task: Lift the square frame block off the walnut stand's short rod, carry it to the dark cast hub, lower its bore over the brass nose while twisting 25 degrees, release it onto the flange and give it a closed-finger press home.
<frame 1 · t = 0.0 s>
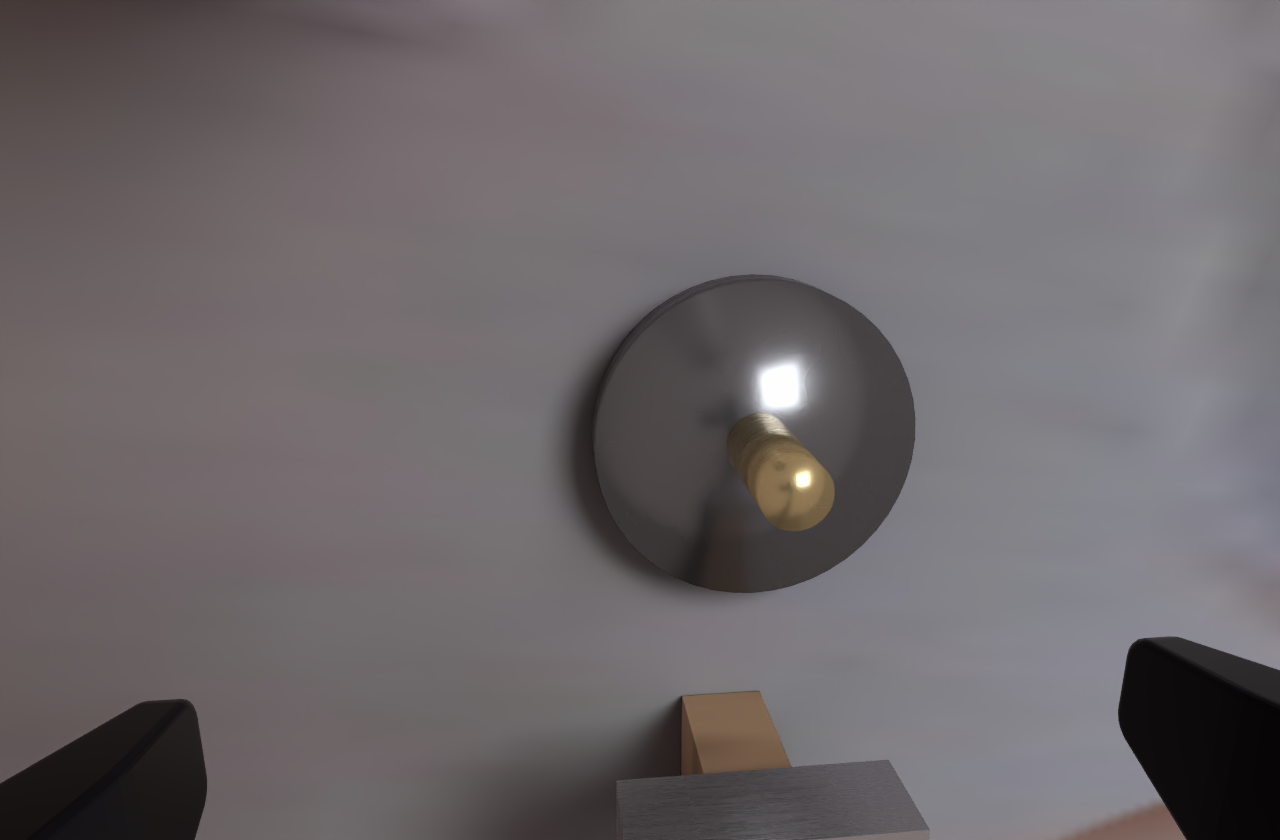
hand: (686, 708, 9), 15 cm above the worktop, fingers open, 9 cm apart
hub: (747, 430, 24), on the worktop
stand: (718, 778, 27), on the worktop
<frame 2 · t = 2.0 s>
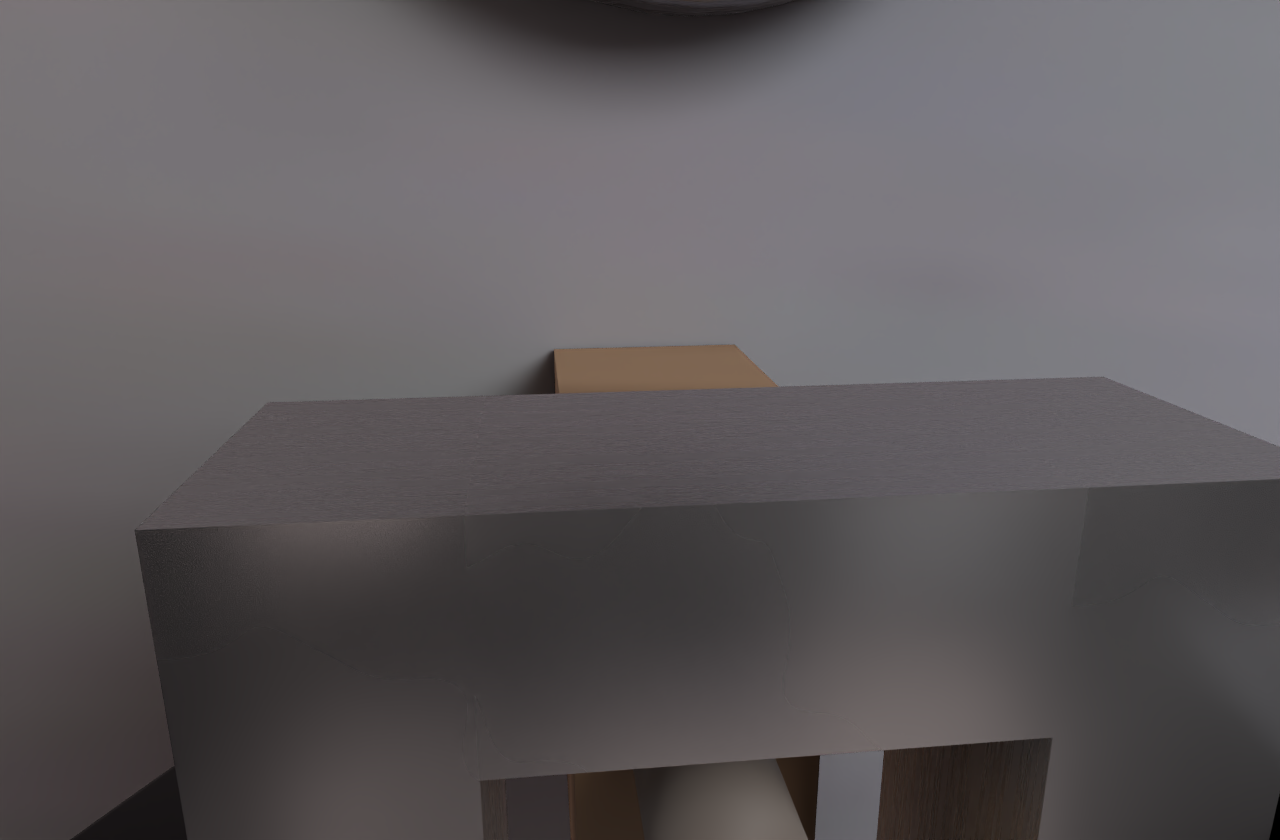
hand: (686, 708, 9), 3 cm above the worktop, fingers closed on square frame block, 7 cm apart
square frame block: (699, 751, 8), point 4 cm above the worktop, touching gripper, stand
stand: (645, 559, 12), on the worktop
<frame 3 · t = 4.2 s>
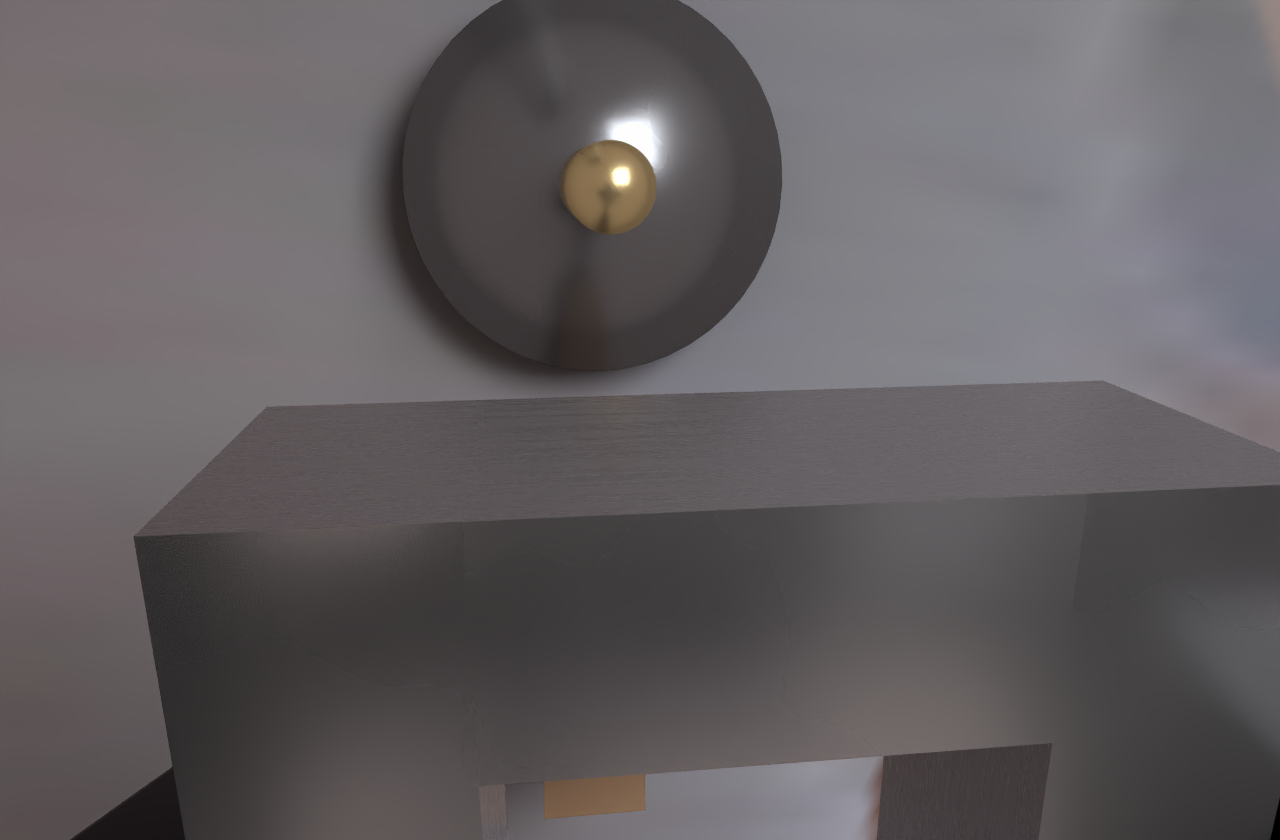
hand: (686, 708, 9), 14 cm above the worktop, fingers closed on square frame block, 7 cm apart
square frame block: (698, 755, 8), point 14 cm above the worktop, touching gripper
hub: (592, 184, 21), on the worktop
stand: (581, 613, 23), on the worktop
when the fingers open (2 cm above the worktop, at t = 6.7 s): square frame block drops 2 cm, resting on hub.
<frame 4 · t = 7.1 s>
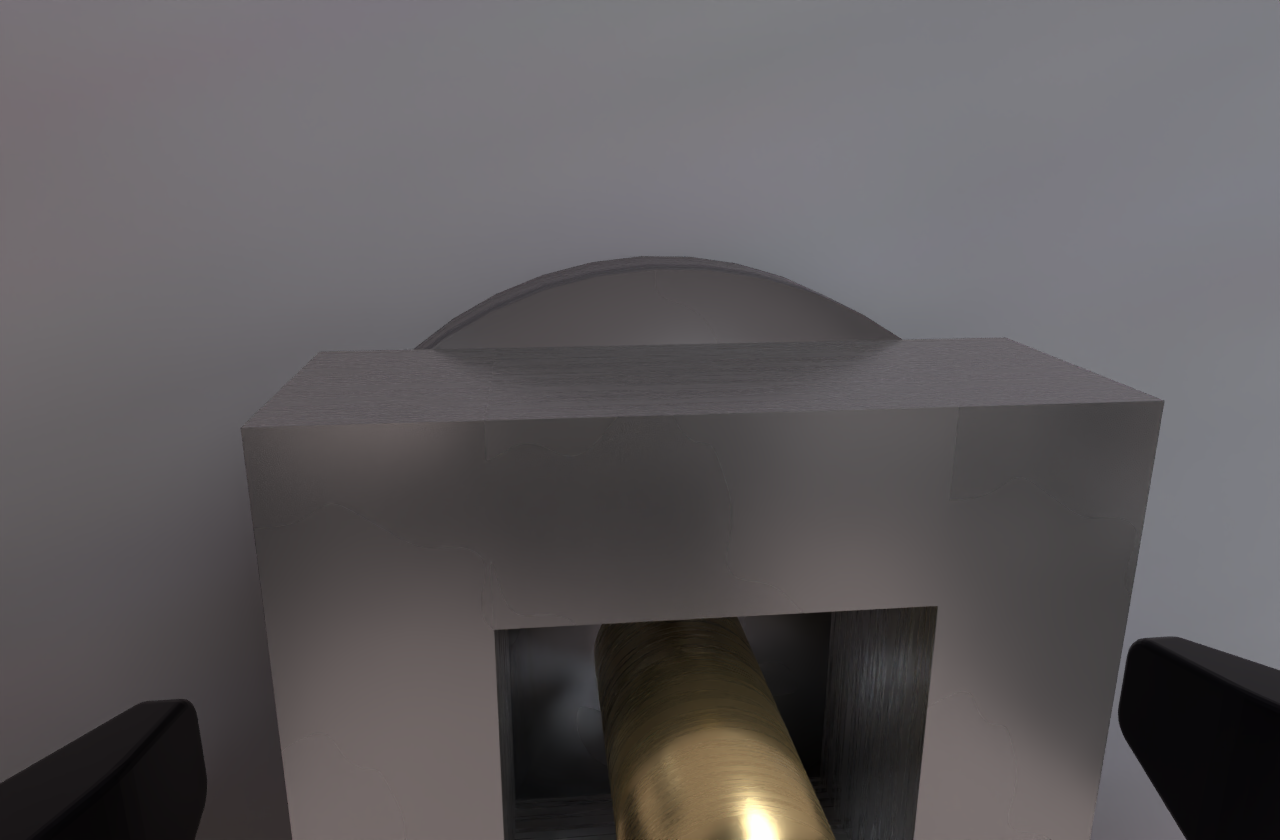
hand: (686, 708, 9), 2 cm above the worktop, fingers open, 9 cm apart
square frame block: (672, 651, 10), point 1 cm above the worktop, touching hub
hub: (655, 598, 11), on the worktop
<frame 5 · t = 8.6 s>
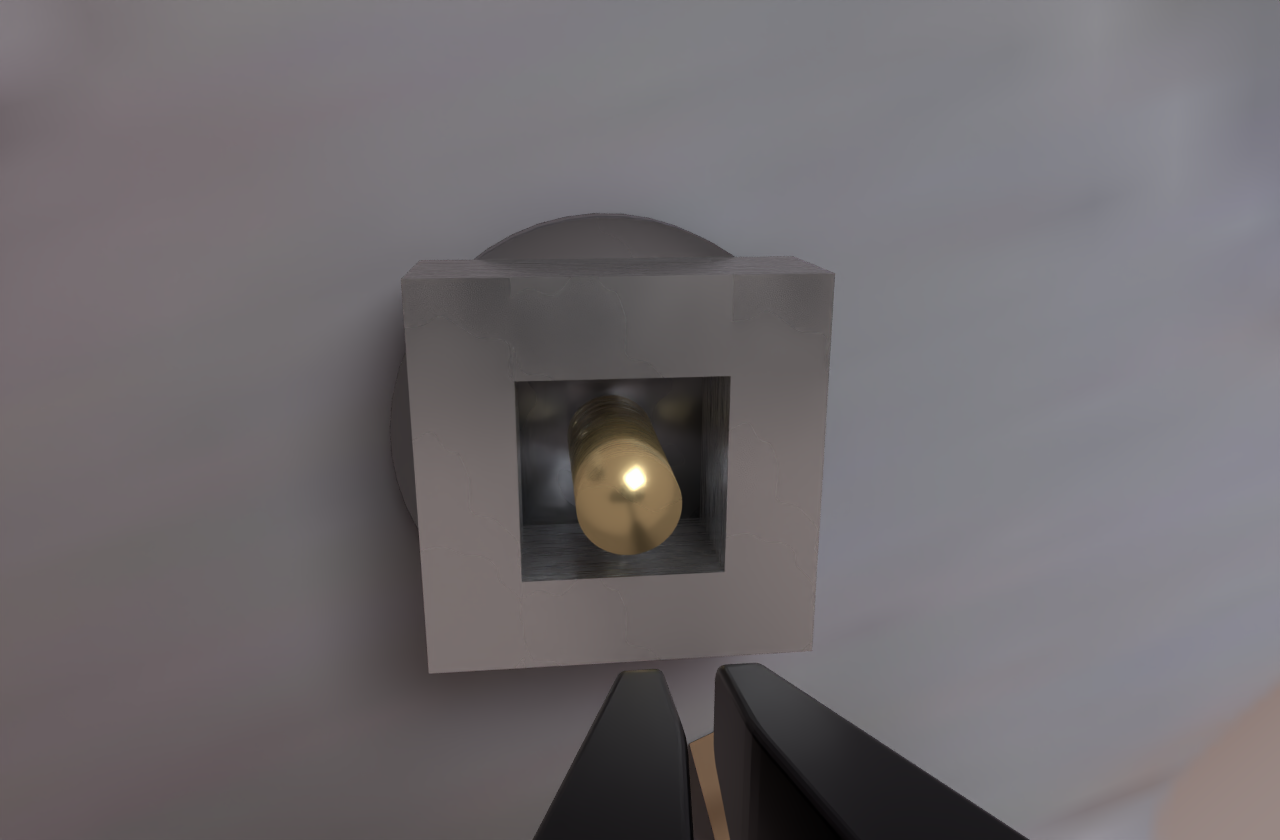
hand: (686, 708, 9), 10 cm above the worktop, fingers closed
square frame block: (611, 436, 17), point 1 cm above the worktop, touching hub
hub: (605, 418, 18), on the worktop
stand: (780, 813, 21), on the worktop
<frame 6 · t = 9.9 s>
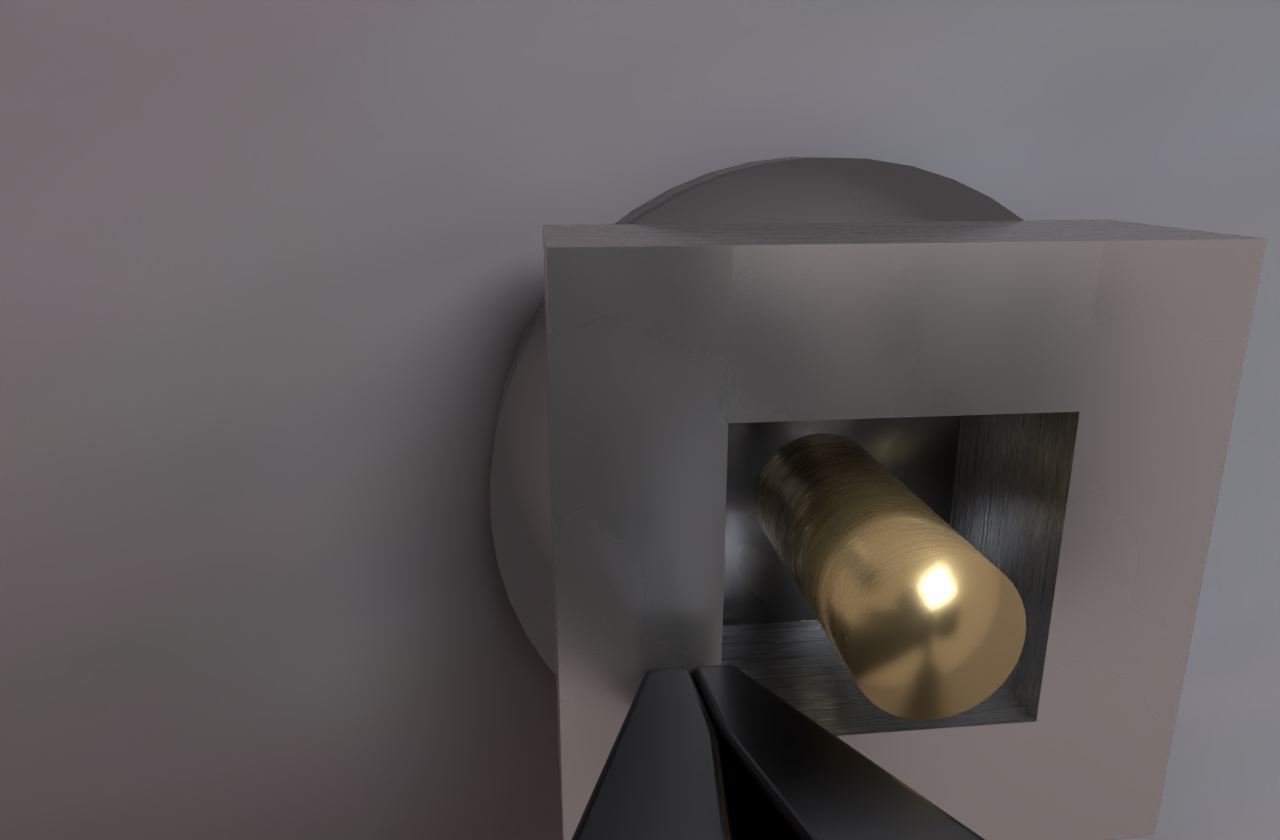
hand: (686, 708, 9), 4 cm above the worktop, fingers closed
square frame block: (820, 495, 11), point 1 cm above the worktop, touching hub
hub: (791, 463, 12), on the worktop
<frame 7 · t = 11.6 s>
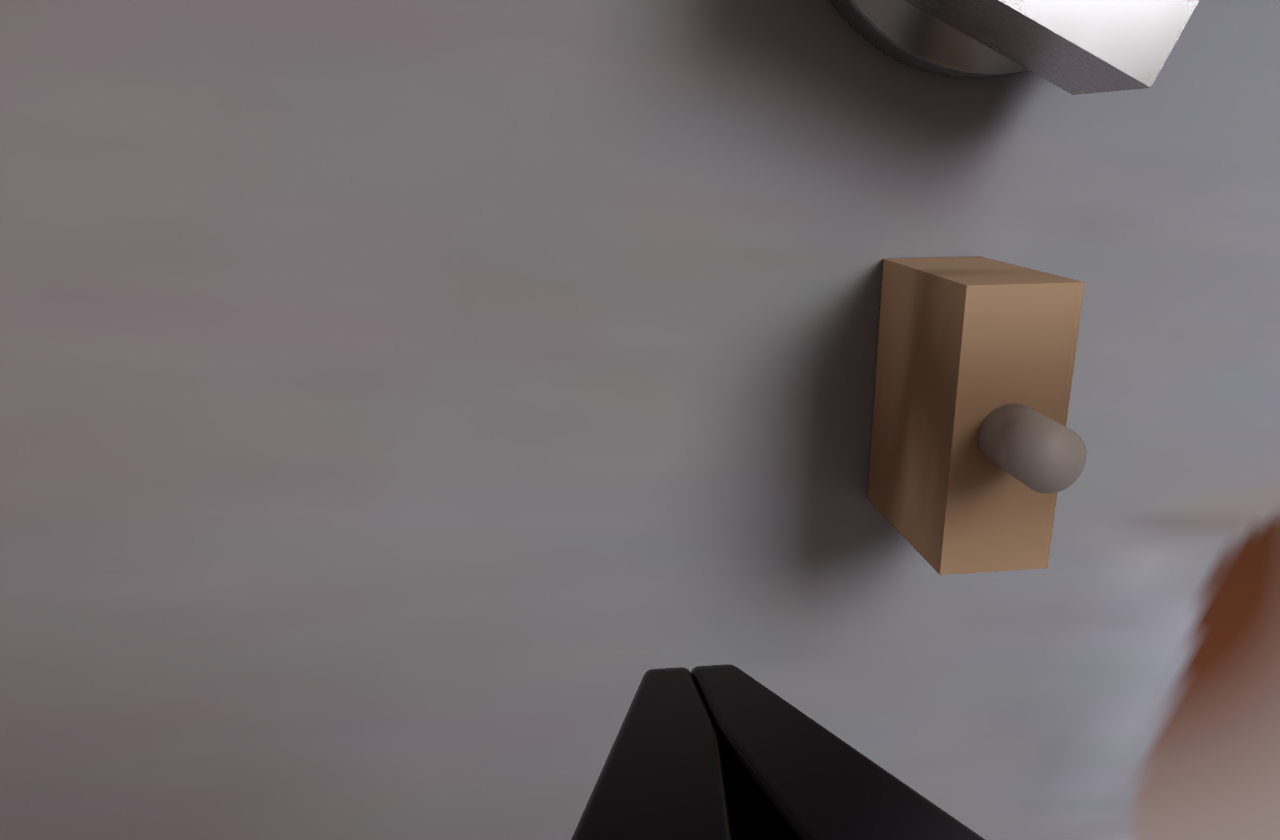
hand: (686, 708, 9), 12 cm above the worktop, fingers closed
stand: (921, 381, 21), on the worktop
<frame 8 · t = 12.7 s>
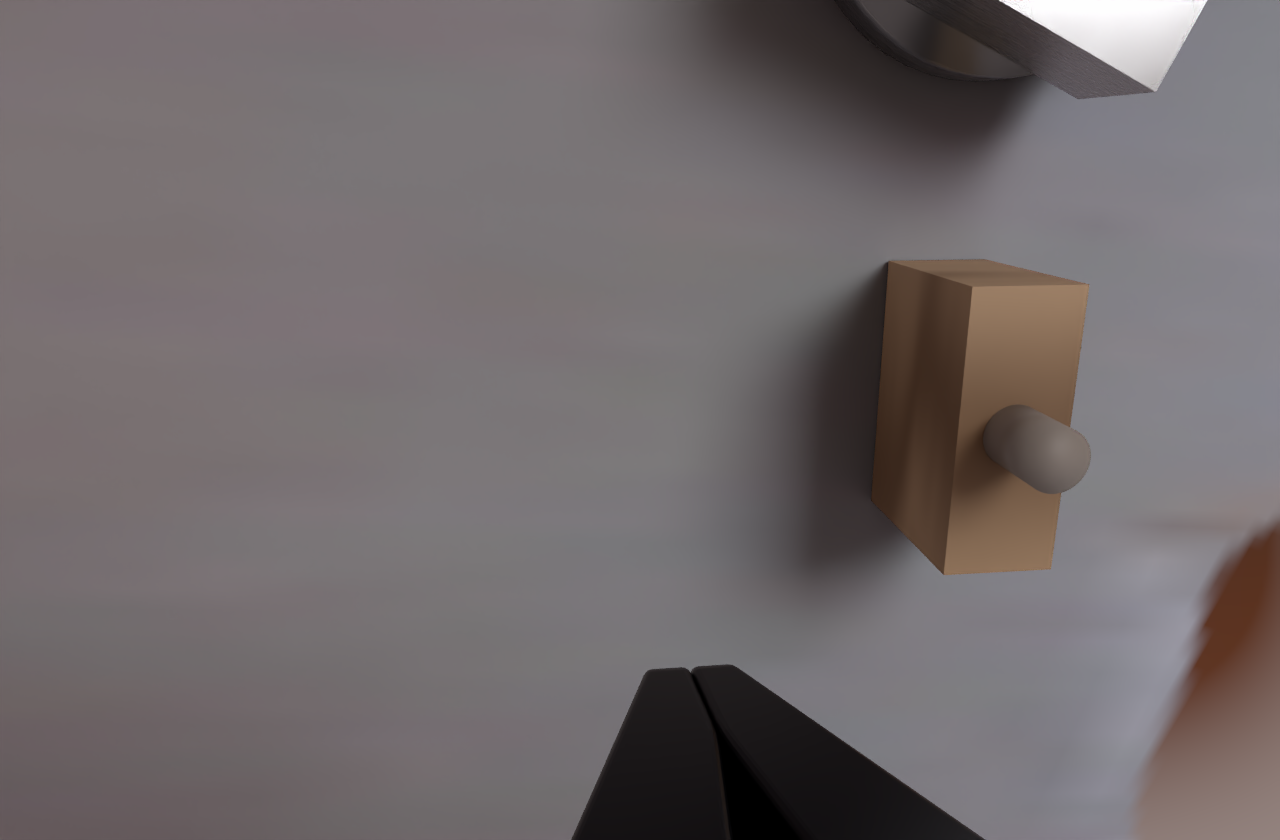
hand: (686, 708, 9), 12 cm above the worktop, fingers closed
stand: (926, 383, 21), on the worktop
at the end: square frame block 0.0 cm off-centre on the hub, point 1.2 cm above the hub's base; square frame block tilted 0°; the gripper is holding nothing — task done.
